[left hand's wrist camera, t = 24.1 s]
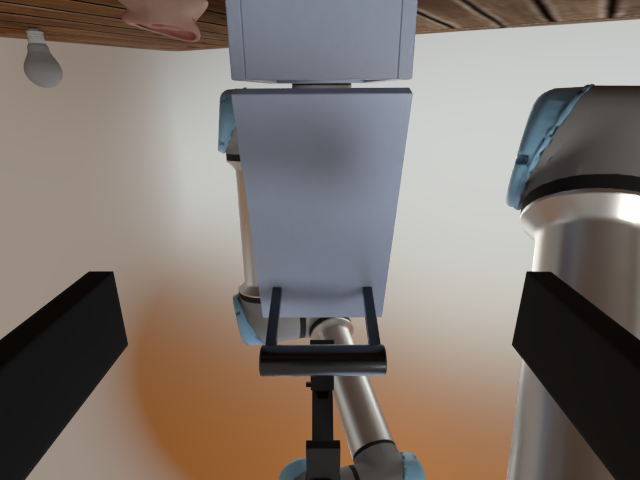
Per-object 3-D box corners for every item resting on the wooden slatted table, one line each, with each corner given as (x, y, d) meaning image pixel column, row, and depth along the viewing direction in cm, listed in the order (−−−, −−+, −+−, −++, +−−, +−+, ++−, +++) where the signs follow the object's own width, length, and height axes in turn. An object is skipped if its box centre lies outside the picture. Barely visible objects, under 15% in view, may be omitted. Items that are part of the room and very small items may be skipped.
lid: (380, 308, 33) (395, 400, 26) (264, 308, 33) (250, 401, 26) (409, 87, 21) (448, 154, 15) (233, 88, 22) (197, 155, 15)
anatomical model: (125, 27, 43) (227, 33, 49) (118, -16, 42) (224, -5, 47) (116, 39, 54) (200, 43, 59) (110, 6, 53) (197, 13, 58)
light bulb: (45, 27, 70) (59, 87, 73) (58, 31, 75) (70, 87, 79) (6, 26, 68) (22, 87, 72) (22, 30, 74) (36, 87, 77)
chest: (376, -46, 33) (371, 82, 37) (263, -45, 33) (269, 83, 37) (430, -172, 17) (412, 79, 21) (211, -170, 17) (231, 80, 21)
